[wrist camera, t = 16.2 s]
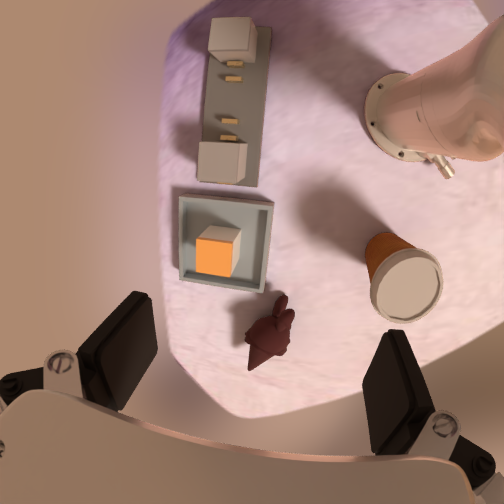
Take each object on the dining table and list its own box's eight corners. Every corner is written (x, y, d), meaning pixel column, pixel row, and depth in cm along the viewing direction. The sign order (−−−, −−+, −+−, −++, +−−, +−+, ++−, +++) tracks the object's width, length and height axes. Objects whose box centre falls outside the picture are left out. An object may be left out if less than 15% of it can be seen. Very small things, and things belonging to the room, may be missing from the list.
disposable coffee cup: (341, 253, 40) (355, 295, 29) (387, 207, 37) (420, 235, 26) (380, 292, 42) (400, 339, 31) (423, 251, 38) (458, 289, 27)
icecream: (271, 388, 44) (317, 322, 39) (229, 380, 42) (271, 309, 37) (265, 361, 50) (304, 296, 46) (227, 352, 49) (263, 283, 44)
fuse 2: (247, 143, 36) (238, 143, 30) (244, 177, 37) (235, 183, 32) (213, 141, 36) (199, 141, 31) (211, 174, 38) (197, 180, 32)
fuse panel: (272, 29, 30) (270, 22, 27) (257, 186, 39) (254, 189, 36) (215, 29, 31) (209, 23, 28) (201, 181, 39) (195, 183, 37)
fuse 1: (257, 33, 29) (250, 16, 24) (255, 62, 31) (247, 49, 26) (224, 33, 30) (212, 18, 24) (220, 62, 32) (207, 50, 26)
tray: (274, 202, 39) (273, 206, 37) (265, 285, 44) (263, 293, 42) (185, 193, 40) (178, 196, 38) (184, 273, 45) (179, 279, 43)
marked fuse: (241, 229, 40) (232, 243, 35) (238, 258, 42) (229, 277, 37) (209, 225, 41) (196, 238, 35) (208, 254, 43) (195, 271, 37)
